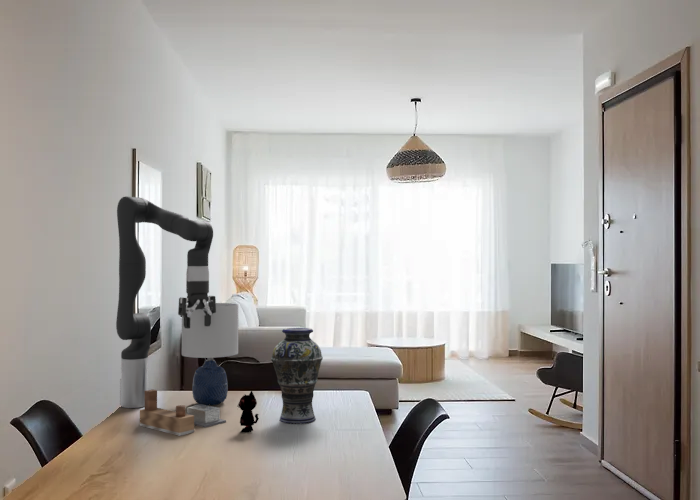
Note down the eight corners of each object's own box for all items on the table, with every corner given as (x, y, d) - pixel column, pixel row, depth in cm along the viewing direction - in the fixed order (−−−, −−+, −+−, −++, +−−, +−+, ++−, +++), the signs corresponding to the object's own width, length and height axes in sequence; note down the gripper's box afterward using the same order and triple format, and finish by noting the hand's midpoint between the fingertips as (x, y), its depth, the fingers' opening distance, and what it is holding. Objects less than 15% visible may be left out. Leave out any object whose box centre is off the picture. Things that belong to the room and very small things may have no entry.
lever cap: (186, 419, 227) (187, 405, 227) (201, 416, 232) (201, 402, 232) (205, 423, 222) (205, 409, 222) (219, 420, 227) (219, 406, 227)
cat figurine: (241, 427, 219) (241, 389, 220) (262, 428, 218) (262, 390, 218) (233, 433, 213) (233, 393, 213) (254, 434, 211) (254, 394, 211)
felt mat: (180, 421, 227) (180, 420, 227) (201, 416, 234) (201, 415, 234) (204, 427, 220) (204, 425, 220) (226, 422, 227) (226, 420, 227)
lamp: (232, 410, 245) (232, 305, 245) (175, 409, 245) (175, 305, 245) (242, 398, 265) (242, 301, 265) (189, 398, 265) (189, 301, 266)
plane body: (139, 425, 222) (139, 391, 222) (154, 422, 226) (154, 388, 226) (179, 435, 210) (179, 399, 210) (194, 432, 214) (194, 396, 214)
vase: (261, 423, 225) (261, 330, 225) (286, 412, 241) (286, 325, 241) (308, 428, 219) (308, 332, 219) (330, 416, 235) (330, 327, 235)
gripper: (206, 278, 245) (206, 325, 244) (173, 279, 233) (173, 328, 233) (221, 279, 240) (220, 326, 240) (187, 280, 229) (187, 329, 229)
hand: (197, 327), depth 237 cm, fingers open, 8 cm apart
